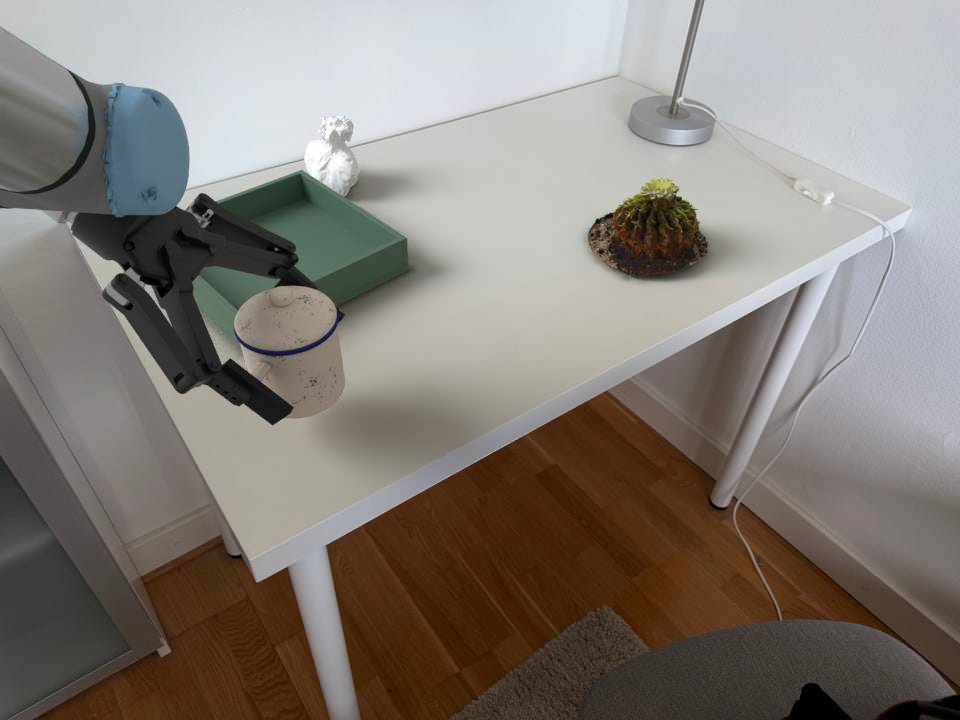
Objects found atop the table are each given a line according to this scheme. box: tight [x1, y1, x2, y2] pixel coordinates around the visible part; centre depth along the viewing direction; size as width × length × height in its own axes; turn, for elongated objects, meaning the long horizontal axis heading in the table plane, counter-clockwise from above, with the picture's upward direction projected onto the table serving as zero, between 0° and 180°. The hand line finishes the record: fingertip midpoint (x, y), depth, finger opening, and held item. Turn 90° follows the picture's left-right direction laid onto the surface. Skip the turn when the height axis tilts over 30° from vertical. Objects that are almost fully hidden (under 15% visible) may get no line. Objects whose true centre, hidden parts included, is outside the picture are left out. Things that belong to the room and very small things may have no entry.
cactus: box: [587, 177, 709, 277], centre depth 92 cm, size 17×16×10 cm
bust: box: [304, 114, 361, 197], centre depth 102 cm, size 12×8×11 cm
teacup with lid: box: [234, 286, 346, 420], centre depth 62 cm, size 12×9×12 cm
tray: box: [192, 169, 410, 348], centre depth 87 cm, size 24×24×5 cm
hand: (311, 366), depth 62 cm, fingers closed on teacup with lid, 12 cm apart
